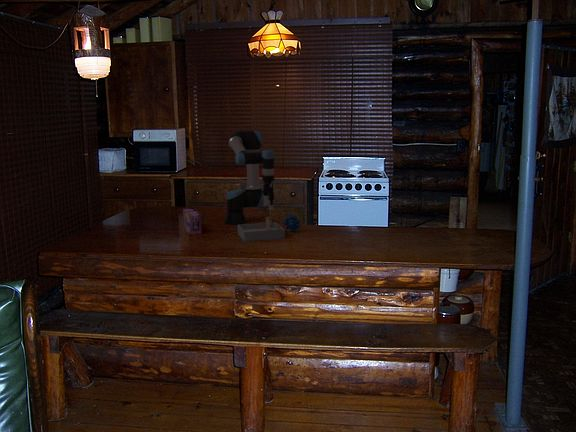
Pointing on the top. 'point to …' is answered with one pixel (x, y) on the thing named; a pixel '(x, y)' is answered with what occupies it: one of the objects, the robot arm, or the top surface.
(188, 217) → the gum box
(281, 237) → the box
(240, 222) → the robot arm
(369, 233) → the top surface
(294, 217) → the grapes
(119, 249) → the top surface
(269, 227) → the peg
